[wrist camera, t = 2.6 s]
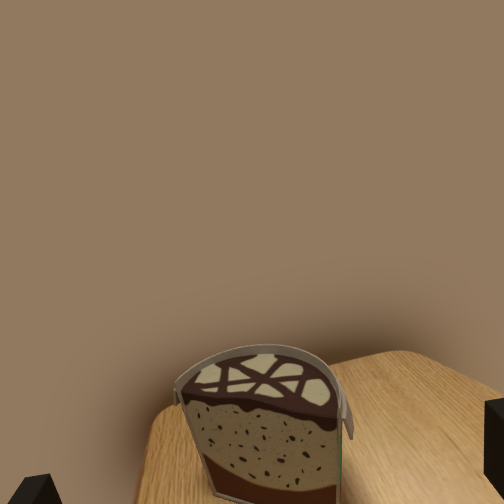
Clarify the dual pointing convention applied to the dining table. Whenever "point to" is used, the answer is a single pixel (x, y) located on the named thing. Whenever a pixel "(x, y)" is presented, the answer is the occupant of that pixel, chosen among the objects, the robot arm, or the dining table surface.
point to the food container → (267, 424)
